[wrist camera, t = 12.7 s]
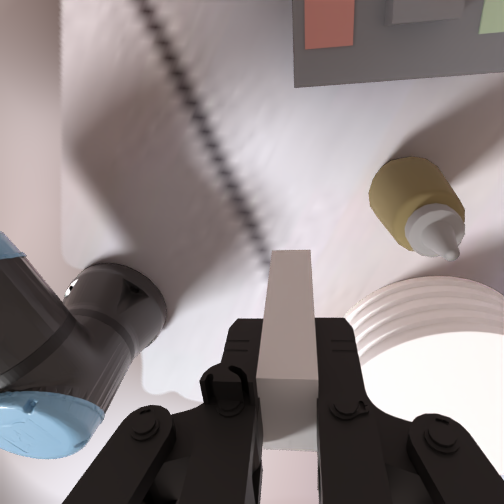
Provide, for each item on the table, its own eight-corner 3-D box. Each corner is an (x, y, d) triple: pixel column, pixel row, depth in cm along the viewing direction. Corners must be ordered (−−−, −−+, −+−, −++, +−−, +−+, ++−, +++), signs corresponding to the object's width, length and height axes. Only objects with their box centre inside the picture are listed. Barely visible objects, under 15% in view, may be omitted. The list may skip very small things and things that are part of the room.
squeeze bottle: (424, 136, 43) (499, 190, 27) (441, 198, 46) (516, 279, 30) (354, 165, 45) (385, 229, 29) (374, 222, 48) (412, 308, 32)
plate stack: (296, 322, 57) (296, 381, 47) (490, 241, 48) (541, 293, 38) (374, 432, 67) (387, 500, 57) (547, 384, 58) (599, 454, 48)
